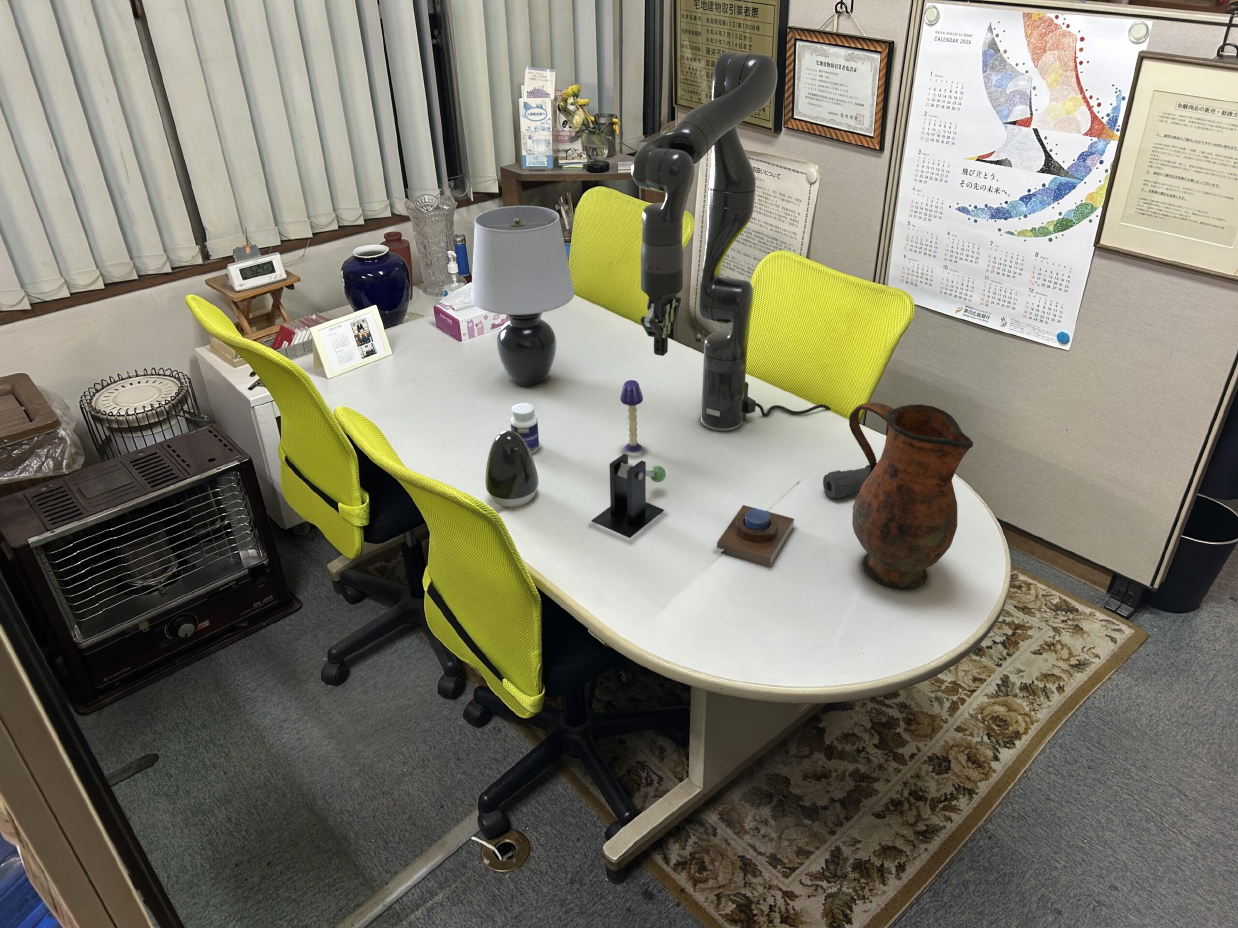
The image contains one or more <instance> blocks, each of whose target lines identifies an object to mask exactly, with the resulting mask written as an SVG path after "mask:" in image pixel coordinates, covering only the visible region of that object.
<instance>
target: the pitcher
mask: <svg viewBox="0 0 1238 928" xmlns="http://www.w3.org/2000/svg"><path fill="white" fill-rule="evenodd" d="M862 410H864V411H868V412H870V413H874V414H876V415H877V416H879V418H881V419H882V420H884V421H885V422H886V427H885V430H886V431H885V436H886V437H885V443H884V447H883V449H882V453H881V456H880V458H879V460H878V461H877V458H876V454H875V452H874V450H873V448H872V446H871V444H870V442H869V440H868V439H867V437H866V436H865V434H864V431H863V429H862V427H861V424H860V417H859V416H860V413H861V411H862ZM848 426H849V430H850V432H851V433H852V436H853V437H854V439H855V441H856V442H857V444H858V446H859V448H860V449H861V450H862V452H863V454H864V456H865V457H866V460H867V462H868V465H870V473H869V475H868V476H867V478H866V480H865V482H864V483H863V484H862V487H861V489H860V491H858V492H857V495H856V497H855V500H854V503H853V506H852V518H851V519H852V523H851V524H852V528H853V533H854V535H855V537H856V539H857V541H858V542H859V545H860V546H861V547H862V548H863V549H864V551H865V552H866V554H865V555H864V556H863V560H862V563H861V564H862V567H863V570H864V572H865V573H866V574H867V576H868V577H869V578H871V579H872V580H873V581H875V582H876V583H879V584H881V585H882V586H885V587H888V588H892V589H894V590H895V589H896V590H901V591H911V590H916V589H919V588H921V587H922V586H923V585H925V584H926V583H927V580H928V571H927V569H928V568H931V567H932V566H934V565H935V564H937V563H938V561H939V560H941V558H942V557H943V556H944V555H945V554H946V553H947V552H948V550H949V549H950V548H951V546H952V543H953V540H954V538H955V535H956V532H957V528H958V501H957V496H956V492H955V489H954V484H953V479H954V476H955V473H956V471H957V469H958V468H959V465H960V463H962V460H963V458H964V457H965V455H966V454H967V452H969V449H972V448H973V446H974V442H973V440H971V437H969V436H968V435H966V434H965V433H964V432H963V430H962V429H961V426H960V425H959V423H958V422H957V421H956V420H955V418H954V417H953V416H952V415H951V414H950V413H948V412H947V411H945V410H944V409H941V408H938V407H936V406H932V405H927V404H922V403H921V404H905V405H901V406H898V407H896V408H893V407H891V406H889V405H887V404H885V403H881V402H866V403H862V404H859V405H857V406H856V407H854V409H853V410H852V411H851V413H850V414H849V417H848Z"/></svg>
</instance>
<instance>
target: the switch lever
mask: <svg viewBox="0 0 1238 928" xmlns="http://www.w3.org/2000/svg"><path fill="white" fill-rule="evenodd" d="M634 465H635V464H631V463H629V462H628V463H621V464H620V467H619V471H618V474H617V475H618V476H621V477H623V478H626V479H627V470H629V469H630V468H632V467H633V466H634ZM666 476H667V472H666V470H665V468H664V467H663V466H661V465H653V466H652V467H651V469H646V477H649V479H650V480H651V481H652V482H654V483H661V482H663V481H664V480H665V479H666Z"/></svg>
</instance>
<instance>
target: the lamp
mask: <svg viewBox="0 0 1238 928" xmlns="http://www.w3.org/2000/svg"><path fill="white" fill-rule="evenodd" d="M472 251H473V255H472V273H471V275H472V276H471V295H470V296H471V297H470V300H471V303H472V304H473V305H474V306H475V307H476V308H478V309H480V310H483V311H485V312H488V313H492V314H496V315H497V314H498V315H505V316H506V317H507V319H508V321H507V322H505V323H504V324H503V325H502V327H501V328H500V330H499V331H498V334H497V337H496V347H497V351H498V355H499V359H500V361H501V364H502V367H503V368H504V370H505V371H506V373H507V374H508V376H509V377H510V379H511V382H512V383H513V384H514V385H515V386H518V387H522V388H533V387H538V386H541V385H543V384H544V383H546V382H547V380H548V375H549V373H550V372H551V369H552V367H553V363H554V361H555V357H556V352H557V337H556V334H555V331H554V329H553V328H552V326H551V325H550V324H549V323H548V322H546V321H545V320H543V319H542V315H543V313H546V312H547V313H548V312H550V311H553V310H556V309H559V308H562V307H564V306H565V305H567V304H568V303H570V302H571V301H572V300H573V298H574V296H575V289H574V283H573V278H572V273H571V269H570V264H569V258H568V255H567V254H568V253H567V249H566V245H565V240H564V234H563V229H562V224H561V219H560V214H559V213H558V212H557V211H555V210H553V209H551V208H548V207H543V206H534V205H512V206H503V207H496V208H492V209H488V210H486V211H482V212H481V213H479V214H478V215H477V216H475V218H474V234H473V250H472Z"/></svg>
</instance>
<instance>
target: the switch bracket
mask: <svg viewBox="0 0 1238 928" xmlns="http://www.w3.org/2000/svg"><path fill="white" fill-rule="evenodd" d="M621 463H629V455H628V454H626V453H622V454H621V455H620V456H618V457H617V458H616V459H614V460H612V461H611V462H610V463H609V497H610V498H609V500H610V501H609V502H610V503H609V504H610V506H609V507H607V508H605V510H603V511H602V512H601V513H599V514H598V515H596V516H595V517H594V518H592V520H591V522H592V523H594V524H597V525H599V526H601V527H603V528H605V529H608V530H611V531H612V532H615V533H616V534H619V535H622V536H624V537H626V538H628V539H631V538H632V537H633V536H635V535H636V534H637V533H638V532H640V531H641V530H642V529H643V528H644V527H646V526H647V525H649V523H651V522H652V521H654V519H656V518H657V517H658V516H659V515H661V514H662V513H663V512H664V511H665V509H664V508H661V507H660V506H657V505H654V504H652V503H649V502H647V501H646V500H647V499H646V497H647V492H646V491H647V487H646V486H647V476H646V470H647V466H646V465H647V462H646V461H644V460H640V461H638V462H637V463H636V464H633V465H634V466H633V467H632V468H630V469H629V470H627V479H626V478H623V477H621V476H618V475H617V474H618V471H619V467H620V464H621Z"/></svg>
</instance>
